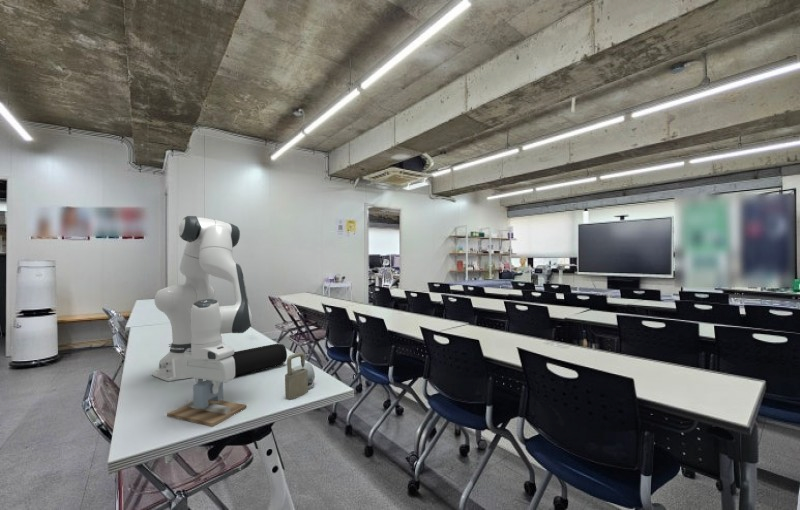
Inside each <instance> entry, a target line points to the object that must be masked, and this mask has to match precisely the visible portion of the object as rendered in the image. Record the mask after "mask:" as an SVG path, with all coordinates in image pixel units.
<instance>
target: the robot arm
mask: <svg viewBox="0 0 800 510" xmlns="http://www.w3.org/2000/svg"><path fill="white" fill-rule="evenodd" d="M178 234H179V237H180V238H181V239H182V240H183V241H185V242H186V244H185V247H184V250H183V254H182V257H181V260H180V264H179V272H180V273H181V274H182V275H183V276H184V277H185V283H184V284H176V285H169V286H166V287H164V288H161V289H159V290H158V291H157V292H156V293H155V295H154V305H155V307H156V308H157V309H158V310H159V312H162V313H163V314H165V316H167V318H168V320H169V323H170V326H171V327H170V328H171V333H172V334H171V336H172V342H171V343H169V344H168V345H169V346H168V348H169V347H170V348H169V352H168V353H166V355H164V356H163V357H162V358H160V360H159V363H158V370H155V371H153V372H152V373H151V374H152V375H153V377H156V378H158V379H161V380H163V381H165V382H171V381H177V380H184V379H185V380H186V379H194V380H195V381H194V382H195V384H198V383H200V382H203V381H205V380H211V381H212V384H214V385H213V388H210V391H211V394H216V393H218V387H219V385H220V383H221V382H223V384H224V383H228V382H230V381H233V380H234V379H235V377H236V376H235V360H234V358H233V356H231V355H233V354H234V352H235V348H234V347H232V346H230V345H227V343H225V342H223V338H222V334H244V333H245V332H247V331H248V330H249V329H250V328H251V327H252V324H253V314H252V310H251V308H250V304H249V298H248V295H247V289H246V284H245V277H244V273H243V270H242V267H241V265H240V264H239V263H236V262H235V260H234V257H233V248H235V247H236V246H237V245H238V243H239V241H240V238H241V237H240V236H241V231H240V229H239V226H237V225H234V224H233V223H227V222H225V221H221V220H219V219H215V218H214V219H213V218H206V217H200V216H199V217H197V216H196V215H186V216H185V217H184V218H183V219H182V220H181V221H180V224H179V225H178ZM209 276H211V277H214V278H219V279H222V280H225V281H228V282H230V283H231V284H232V286H233V293H234V298H235V304H233V305H223V306H222V305H221V306H220V304H219V301H218V300H217V299H215V295H216V292H215V290H214V287H213V286H212V284H210V279H209ZM152 375H151V376H152Z"/></svg>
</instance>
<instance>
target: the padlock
mask: <svg viewBox="0 0 800 510" xmlns="http://www.w3.org/2000/svg"><path fill="white" fill-rule="evenodd" d="M299 357H300V365H302V369H298V370H295V371H292V368H293V367H292V361H293V359H296V358H299ZM305 363H306V358H305V353H303V352H300V351H299V352H297V353H293V354H290V355H289V356H287V359H286V370H287V373H286V374H284V384H285V385H284V389H285V390H284V391H285V392H284V393H285V395H284V396H285V399H287V398H288V400H292V399H296V398H299V397H302V396H303V395H305V394H307V393H308V392H309V389H308V386H309V383H308V369H304V368H303V367H304V364H305ZM306 392H307V393H306Z"/></svg>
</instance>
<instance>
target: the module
mask: <svg viewBox="0 0 800 510" xmlns="http://www.w3.org/2000/svg"><path fill="white" fill-rule="evenodd" d="M223 384H224V382H221V383H220V385H219V387H218V393H216V394H211V391H210V388H213V385H214V384H212V381H211V380H203V382H200V383H198V384H196V383H195V384H193V385H192V390H193V391H192V392H193V400H194V407H195V408H201V409H204V408H206V407H208V400H212V401H220V400H222V401H223V400H224V386H223Z"/></svg>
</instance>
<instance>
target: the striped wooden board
mask: <svg viewBox="0 0 800 510" xmlns="http://www.w3.org/2000/svg"><path fill="white" fill-rule="evenodd" d="M184 404H185V405H183V406H180V407H178V408H175V409H173V410H170V411H168V412H167V413H166V416H167V417H168V418H173V419H178V420H181V421H186V422H189V423H190V422H191V423H195V424H200V425H202V426H208V427H212V428H213V427H214V426H217V425H218V424H220V423H222V422H224V421H226V420H228V419H229V418H231V417H233V416H235V415H237V414H239V413H241V412H242V411H244V410H246V409H247V408H248V407H247V404H243V403H239V402H238V403H237V402H232V401H226V400H223V399H222V400H220V401H212V400H208V407H206V408H204V409H201V408H195V407H194V399H189V400H187V401H185V403H184ZM246 407H247V408H246ZM245 408H246V409H245ZM243 409H244V410H243ZM241 410H242V411H241ZM238 412H239V413H238ZM236 413H237V414H236ZM234 414H235V415H234Z"/></svg>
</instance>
